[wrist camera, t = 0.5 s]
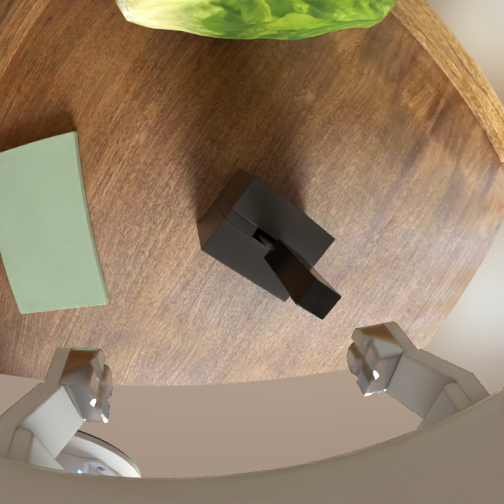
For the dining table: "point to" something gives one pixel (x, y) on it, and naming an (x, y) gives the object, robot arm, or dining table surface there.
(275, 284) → the knife block
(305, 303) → the knife
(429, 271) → the dining table surface
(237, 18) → the lettuce
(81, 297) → the cutting board
